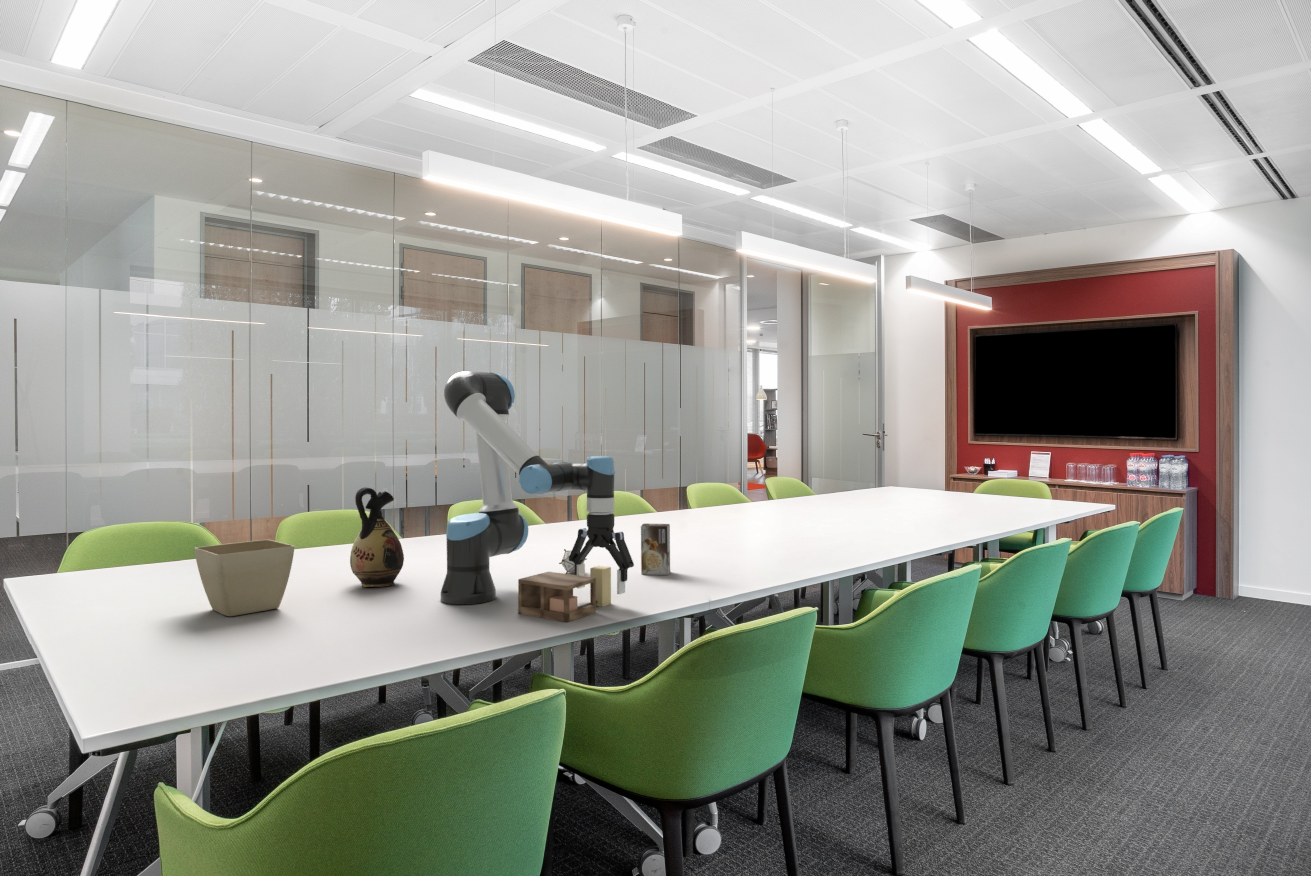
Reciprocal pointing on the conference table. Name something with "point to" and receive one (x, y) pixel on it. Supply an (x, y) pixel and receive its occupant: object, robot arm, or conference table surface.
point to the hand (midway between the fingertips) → (600, 590)
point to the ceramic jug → (375, 543)
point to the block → (602, 591)
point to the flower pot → (245, 575)
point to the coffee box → (655, 549)
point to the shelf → (549, 584)
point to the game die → (568, 562)
